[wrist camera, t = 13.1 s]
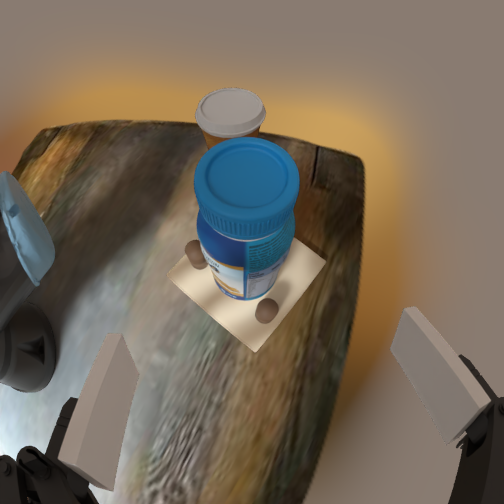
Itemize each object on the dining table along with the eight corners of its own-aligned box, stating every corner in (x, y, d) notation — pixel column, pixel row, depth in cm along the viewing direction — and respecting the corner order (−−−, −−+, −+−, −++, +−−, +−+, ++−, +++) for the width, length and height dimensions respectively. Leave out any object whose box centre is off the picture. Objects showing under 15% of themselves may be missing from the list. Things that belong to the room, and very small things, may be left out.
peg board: (168, 278, 36) (157, 265, 31) (240, 203, 40) (240, 181, 35) (255, 352, 33) (257, 352, 27) (323, 265, 37) (335, 250, 32)
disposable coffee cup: (265, 180, 42) (272, 124, 31) (204, 187, 41) (194, 132, 30) (256, 138, 45) (260, 84, 34) (202, 143, 44) (194, 89, 33)
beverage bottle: (277, 304, 33) (319, 238, 15) (209, 300, 33) (167, 230, 15) (278, 241, 36) (309, 131, 18) (215, 238, 36) (191, 125, 18)
